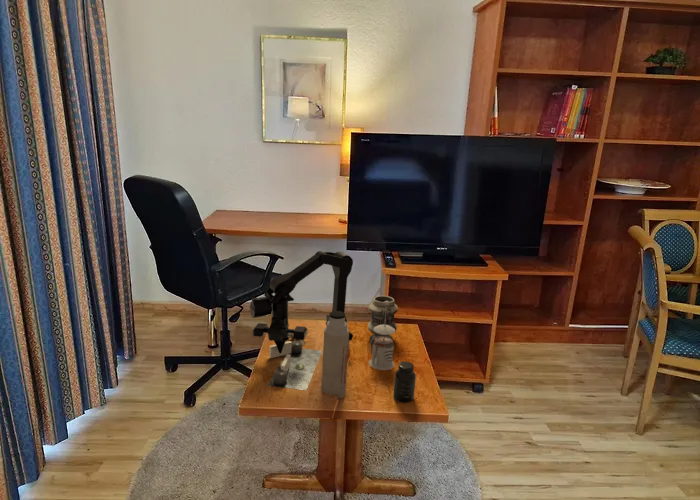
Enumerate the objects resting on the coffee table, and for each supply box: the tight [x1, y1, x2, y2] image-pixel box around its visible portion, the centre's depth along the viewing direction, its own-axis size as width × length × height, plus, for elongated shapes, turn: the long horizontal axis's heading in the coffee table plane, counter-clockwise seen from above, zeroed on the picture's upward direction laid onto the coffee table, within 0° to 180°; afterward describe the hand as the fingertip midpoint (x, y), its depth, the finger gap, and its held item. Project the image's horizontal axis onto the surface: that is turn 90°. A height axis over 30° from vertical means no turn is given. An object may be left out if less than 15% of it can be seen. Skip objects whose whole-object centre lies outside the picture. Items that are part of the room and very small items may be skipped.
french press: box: [368, 301, 396, 371], centre depth 177 cm, size 10×12×25 cm
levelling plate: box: [267, 348, 323, 391], centre depth 171 cm, size 13×29×2 cm, turn 173°
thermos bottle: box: [321, 311, 350, 400], centre depth 156 cm, size 8×8×28 cm
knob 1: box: [268, 340, 303, 359], centre depth 180 cm, size 13×4×4 cm, turn 126°
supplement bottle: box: [392, 360, 417, 404], centre depth 157 cm, size 7×7×12 cm
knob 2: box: [273, 354, 290, 385], centre depth 164 cm, size 13×4×4 cm, turn 173°
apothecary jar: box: [367, 295, 399, 343], centre depth 199 cm, size 12×12×18 cm
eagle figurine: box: [289, 335, 307, 347], centre depth 190 cm, size 8×7×9 cm
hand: (280, 353), depth 176 cm, fingers closed
